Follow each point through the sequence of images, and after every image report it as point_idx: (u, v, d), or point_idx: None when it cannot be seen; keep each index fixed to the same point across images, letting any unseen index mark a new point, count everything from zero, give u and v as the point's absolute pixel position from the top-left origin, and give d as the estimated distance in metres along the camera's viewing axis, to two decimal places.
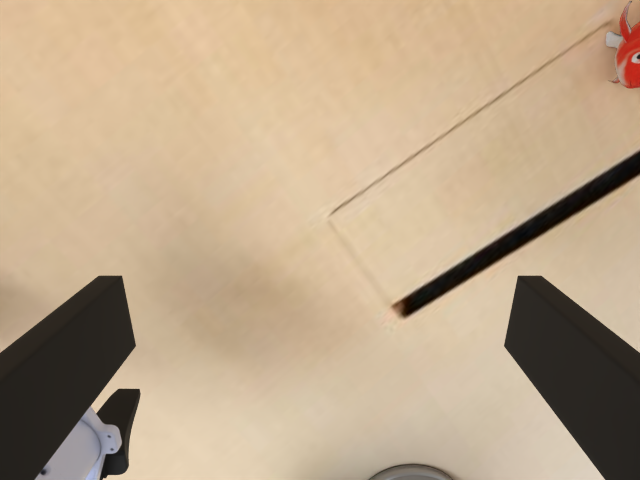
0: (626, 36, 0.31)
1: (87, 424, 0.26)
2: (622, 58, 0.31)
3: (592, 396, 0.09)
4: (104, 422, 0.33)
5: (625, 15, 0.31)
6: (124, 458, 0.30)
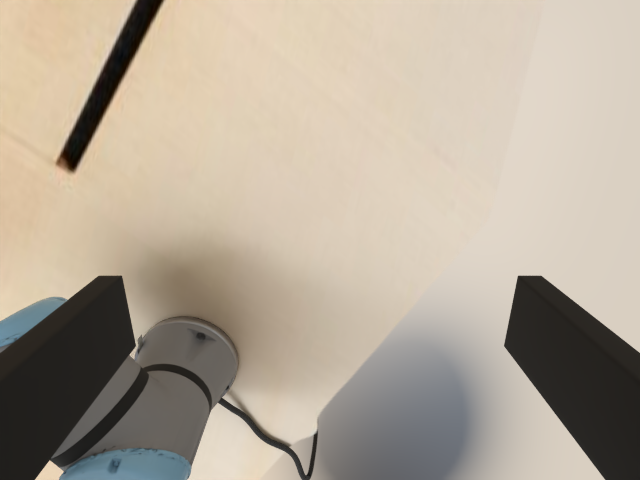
0: None
1: None
2: None
3: (592, 396, 0.09)
4: None
5: None
6: None
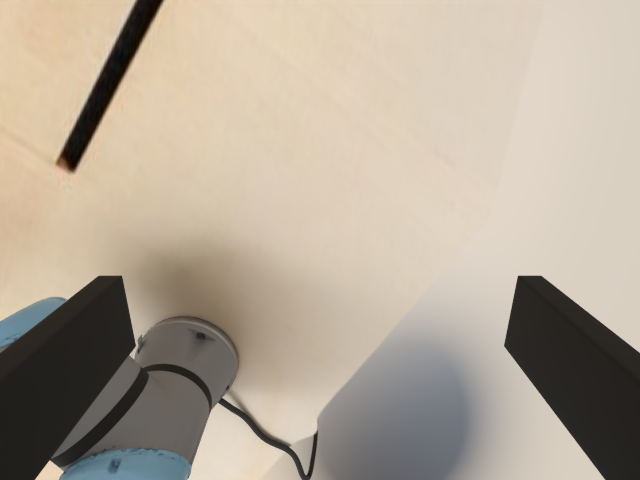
0: None
1: None
2: None
3: (592, 396, 0.09)
4: None
5: None
6: None
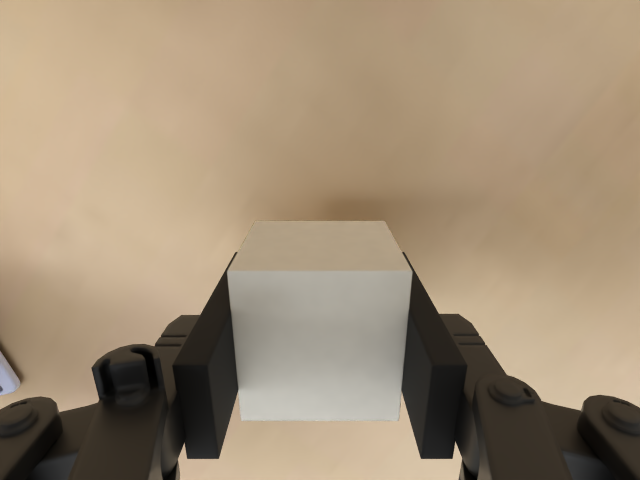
0: None
1: None
2: None
3: None
4: None
5: None
6: None
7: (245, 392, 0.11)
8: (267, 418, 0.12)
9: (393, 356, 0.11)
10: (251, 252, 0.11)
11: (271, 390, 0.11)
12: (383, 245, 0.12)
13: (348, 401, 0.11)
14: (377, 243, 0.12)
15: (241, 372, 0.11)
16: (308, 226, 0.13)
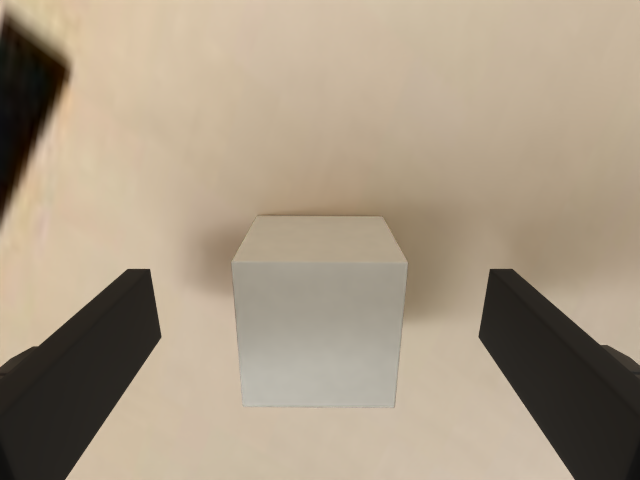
0: None
1: None
2: None
3: (550, 381, 0.09)
4: None
5: None
6: None
7: (247, 379, 0.12)
8: (268, 404, 0.12)
9: (389, 345, 0.11)
10: (253, 244, 0.11)
11: (272, 377, 0.12)
12: (380, 239, 0.12)
13: (346, 388, 0.12)
14: (375, 236, 0.12)
15: (243, 359, 0.11)
16: (308, 220, 0.14)
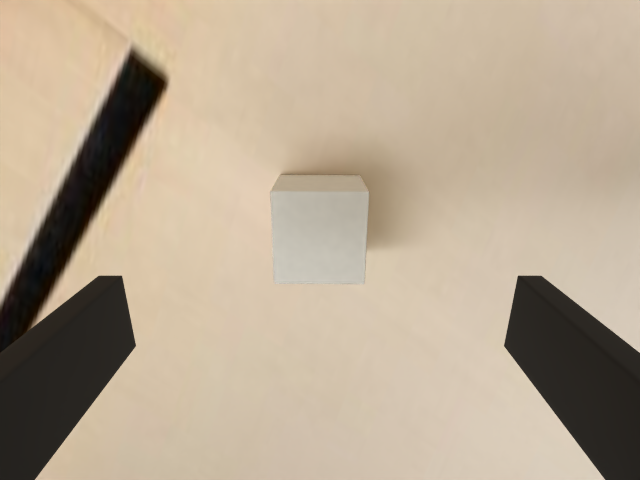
0: None
1: None
2: None
3: (592, 396, 0.09)
4: None
5: None
6: None
7: (277, 264, 0.20)
8: (289, 282, 0.20)
9: (360, 242, 0.19)
10: (281, 185, 0.20)
11: (292, 263, 0.20)
12: (356, 184, 0.20)
13: (335, 271, 0.20)
14: (353, 183, 0.20)
15: (275, 252, 0.20)
16: (312, 176, 0.22)
